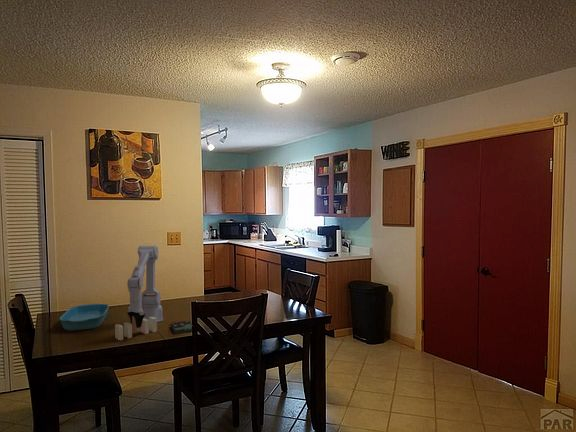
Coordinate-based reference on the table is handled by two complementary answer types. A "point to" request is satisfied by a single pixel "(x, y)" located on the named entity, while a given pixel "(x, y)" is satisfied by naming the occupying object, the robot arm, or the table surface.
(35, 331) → the table surface
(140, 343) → the table surface
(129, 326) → the domino
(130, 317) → the robot arm
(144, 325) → the domino
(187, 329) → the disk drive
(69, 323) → the casserole dish
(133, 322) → the domino
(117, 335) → the domino
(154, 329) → the domino
